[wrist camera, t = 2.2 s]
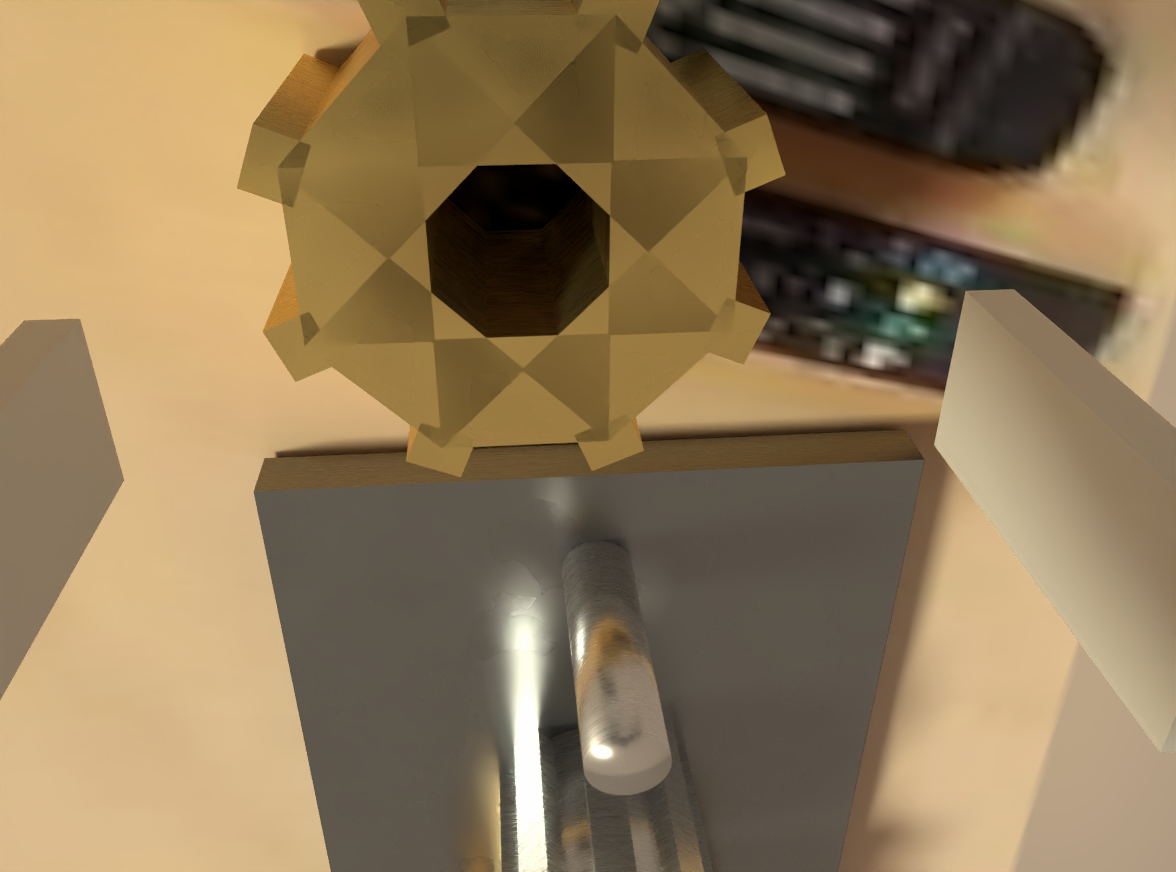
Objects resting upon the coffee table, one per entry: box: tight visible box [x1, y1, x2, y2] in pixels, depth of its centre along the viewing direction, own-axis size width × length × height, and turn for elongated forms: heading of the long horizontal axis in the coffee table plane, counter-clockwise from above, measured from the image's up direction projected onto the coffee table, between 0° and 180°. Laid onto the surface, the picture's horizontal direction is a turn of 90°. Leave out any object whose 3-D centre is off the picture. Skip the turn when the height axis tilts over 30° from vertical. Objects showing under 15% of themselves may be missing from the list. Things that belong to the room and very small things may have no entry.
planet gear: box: [237, 0, 786, 477], centre depth 22 cm, size 10×10×6 cm
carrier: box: [254, 430, 925, 872], centre depth 31 cm, size 24×18×9 cm
